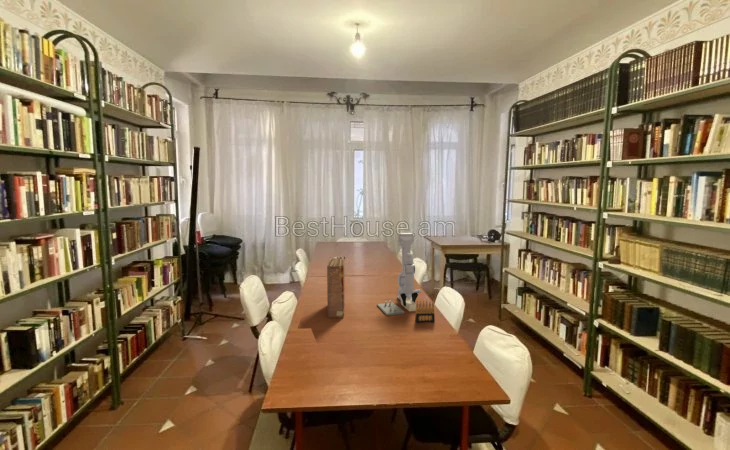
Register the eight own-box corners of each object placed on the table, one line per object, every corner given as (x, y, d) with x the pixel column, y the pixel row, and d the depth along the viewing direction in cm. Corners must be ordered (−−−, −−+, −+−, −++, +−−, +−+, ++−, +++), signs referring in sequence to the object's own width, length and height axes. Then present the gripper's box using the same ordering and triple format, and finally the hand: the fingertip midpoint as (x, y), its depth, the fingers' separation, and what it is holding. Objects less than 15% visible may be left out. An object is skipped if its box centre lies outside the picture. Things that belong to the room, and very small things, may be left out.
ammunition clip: (415, 322, 209) (416, 301, 208) (414, 321, 211) (415, 300, 210) (434, 322, 210) (435, 301, 209) (433, 321, 212) (434, 300, 210)
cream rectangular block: (400, 304, 241) (400, 298, 240) (408, 303, 242) (408, 297, 242) (409, 311, 227) (409, 305, 227) (417, 310, 229) (417, 304, 228)
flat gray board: (377, 305, 237) (377, 299, 237) (393, 304, 240) (393, 297, 240) (386, 315, 220) (386, 308, 220) (404, 313, 223) (404, 306, 223)
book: (330, 303, 241) (329, 257, 238) (344, 303, 242) (344, 257, 238) (327, 318, 216) (327, 266, 213) (343, 317, 216) (343, 266, 213)
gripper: (400, 286, 227) (400, 308, 229) (422, 284, 231) (422, 306, 233) (396, 283, 234) (396, 304, 235) (417, 281, 238) (417, 302, 239)
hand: (408, 305), depth 234 cm, fingers closed on cream rectangular block, 5 cm apart
